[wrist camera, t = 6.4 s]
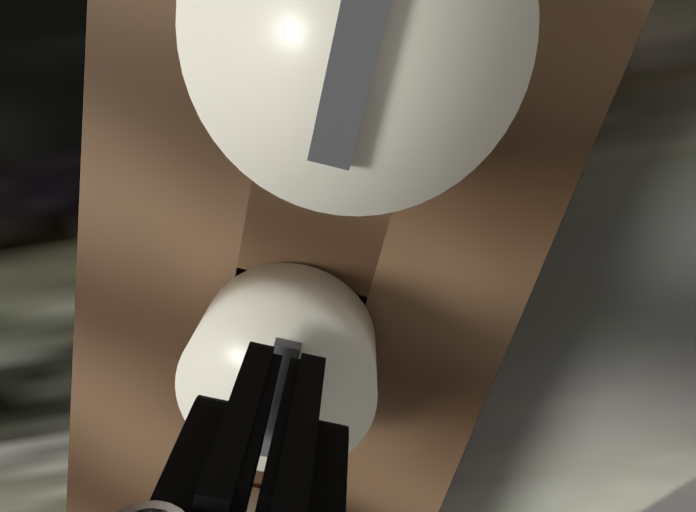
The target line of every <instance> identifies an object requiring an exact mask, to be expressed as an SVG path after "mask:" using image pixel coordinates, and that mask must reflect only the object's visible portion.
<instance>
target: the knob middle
mask: <svg viewBox="0 0 696 512" xmlns="http://www.w3.org/2000/svg"><path fill="white" fill-rule="evenodd" d="M250 341H251V342H256V343H260V344H265V345H270V346H274V347H275V348H274V354H279V355H283V357H282V361H281V366H280V370H279V375H278V379H277V383H276V388H275V392H274V397H273V401H272V405H271V410H270V414H269V419H268V423H267V428H266V432H265V436H264V441H263V445H262V450H261V454H260V458H259V462H258V466H257V471H262V472H264V469H265V465H266V461H267V456H268V452H269V448H270V443H271V439H272V435H273V430H274V426H275V422H276V418H277V413H278V409H279V405H280V401H281V396H282V392H283V388H284V384H285V379H286V375H287V371H288V367H289V362H290V358H291V357H293V358H297V359H300V357H301V354H302V353H306V354H311V355H315V356H320V357H325V358H326V364H325V373H324V381H323V390H322V398H321V407H320V415H319V420H322V421H327V422H331V423H336V424H341V425H346V426H348V427H349V448H348V453H349V452H350V451H351V450H352V449H353V448H354V447H356V446H357V445H358V444H359V442H360V441H361V440H362V439H363V438H364V436H365V435H366V433H367V432H368V430H369V428H370V427H371V424H372V422H373V419H374V417H375V413H376V408H377V399H378V390H377V366H376V342H375V331H374V326H373V322H372V319H371V317H370V314H369V312H368V310H367V308H366V307H365V305H364V303H363V302H362V301H361V299H360V298H359V297H358V295H357V294H356V293H355V292H354V291H353V290H352V289H351V288H350V287H349V286H348V285H346V284H345V283H344V282H342V281H341V280H340V279H338V278H336V277H335V276H333V275H331V274H329V273H327V272H325V271H322V270H320V269H318V268H314V267H311V266H307V265H302V264H296V263H274V264H267V265H262V266H258V267H255V268H252V269H249V270H247V271H245V272H243V273H241V274H239V275H237V276H236V277H234V278H233V279H231V280H230V281H229V282H227V283H226V284H225V285H224V286H223V287H222V288H221V289H220V290H219V292H218V293H217V294H216V295H215V297H214V298H213V300H212V302H211V303H210V305H209V307H208V309H207V310H206V312H205V314H204V316H203V317H202V319H201V321H200V323H199V325H198V326H197V328H196V330H195V332H194V333H193V335H192V337H191V339H190V341H189V342H188V344H187V346H186V348H185V349H184V351H183V353H182V355H181V358H180V360H179V363H178V366H177V370H176V375H175V391H176V398H177V402H178V406H179V409H180V411H181V414H182V416H183V418H184V420H186V418H187V416H188V414H189V412H190V409H191V407H192V405H193V403H194V401H195V399H196V397H197V396H198V395H203V396H207V397H212V398H217V399H222V400H226V401H228V400H229V398H230V395H231V392H232V389H233V387H234V384H235V381H236V378H237V376H238V373H239V370H240V367H241V364H242V362H243V359H244V356H245V353H246V351H247V348H248V345H249V343H250Z"/></svg>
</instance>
